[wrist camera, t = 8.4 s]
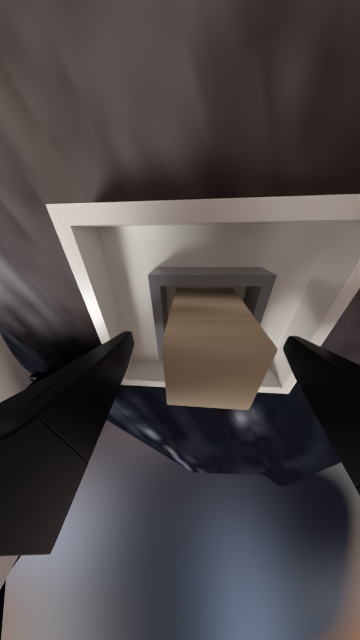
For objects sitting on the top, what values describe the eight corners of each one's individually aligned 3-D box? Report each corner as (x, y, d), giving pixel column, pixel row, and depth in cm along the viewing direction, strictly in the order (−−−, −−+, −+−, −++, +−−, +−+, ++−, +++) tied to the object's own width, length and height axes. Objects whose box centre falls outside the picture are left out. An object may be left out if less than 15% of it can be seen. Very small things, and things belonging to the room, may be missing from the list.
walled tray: (271, 365, 15) (288, 393, 12) (129, 359, 16) (118, 384, 13) (348, 204, 8) (424, 191, 5) (87, 212, 9) (45, 204, 6)
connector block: (224, 334, 12) (248, 410, 7) (177, 332, 12) (167, 404, 7) (233, 288, 10) (278, 349, 5) (176, 287, 10) (161, 344, 5)
